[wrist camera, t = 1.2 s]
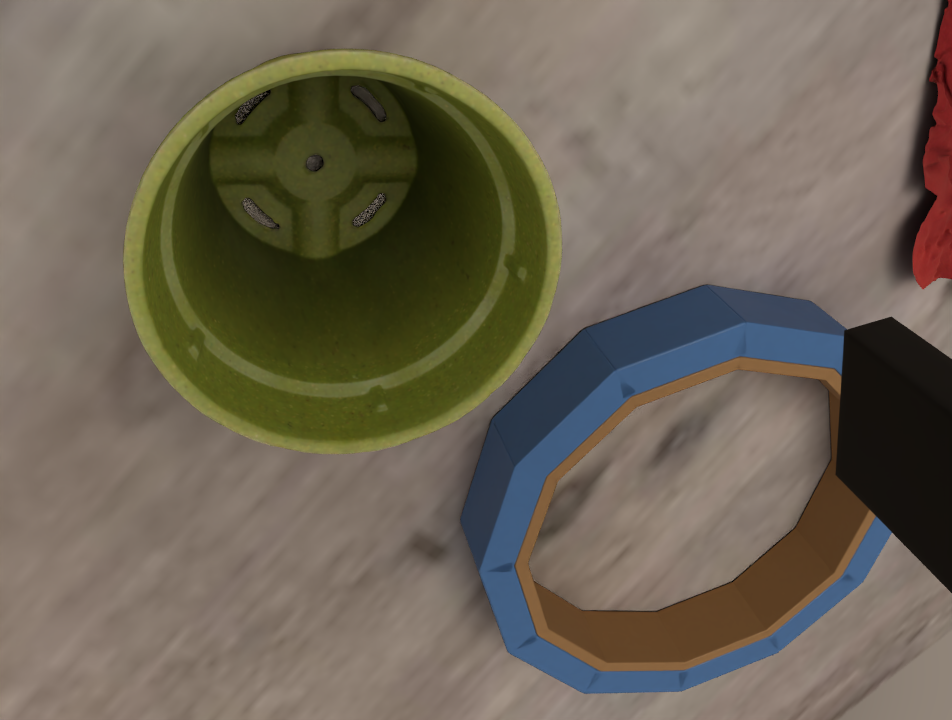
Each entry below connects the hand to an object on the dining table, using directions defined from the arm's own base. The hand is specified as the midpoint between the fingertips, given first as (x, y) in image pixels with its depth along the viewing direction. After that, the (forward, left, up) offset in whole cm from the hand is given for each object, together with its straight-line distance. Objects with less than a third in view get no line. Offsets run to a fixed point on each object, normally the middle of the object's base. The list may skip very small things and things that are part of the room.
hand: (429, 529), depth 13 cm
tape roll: (+1, +20, -17) cm, 26 cm away
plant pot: (0, 0, -17) cm, 17 cm away
